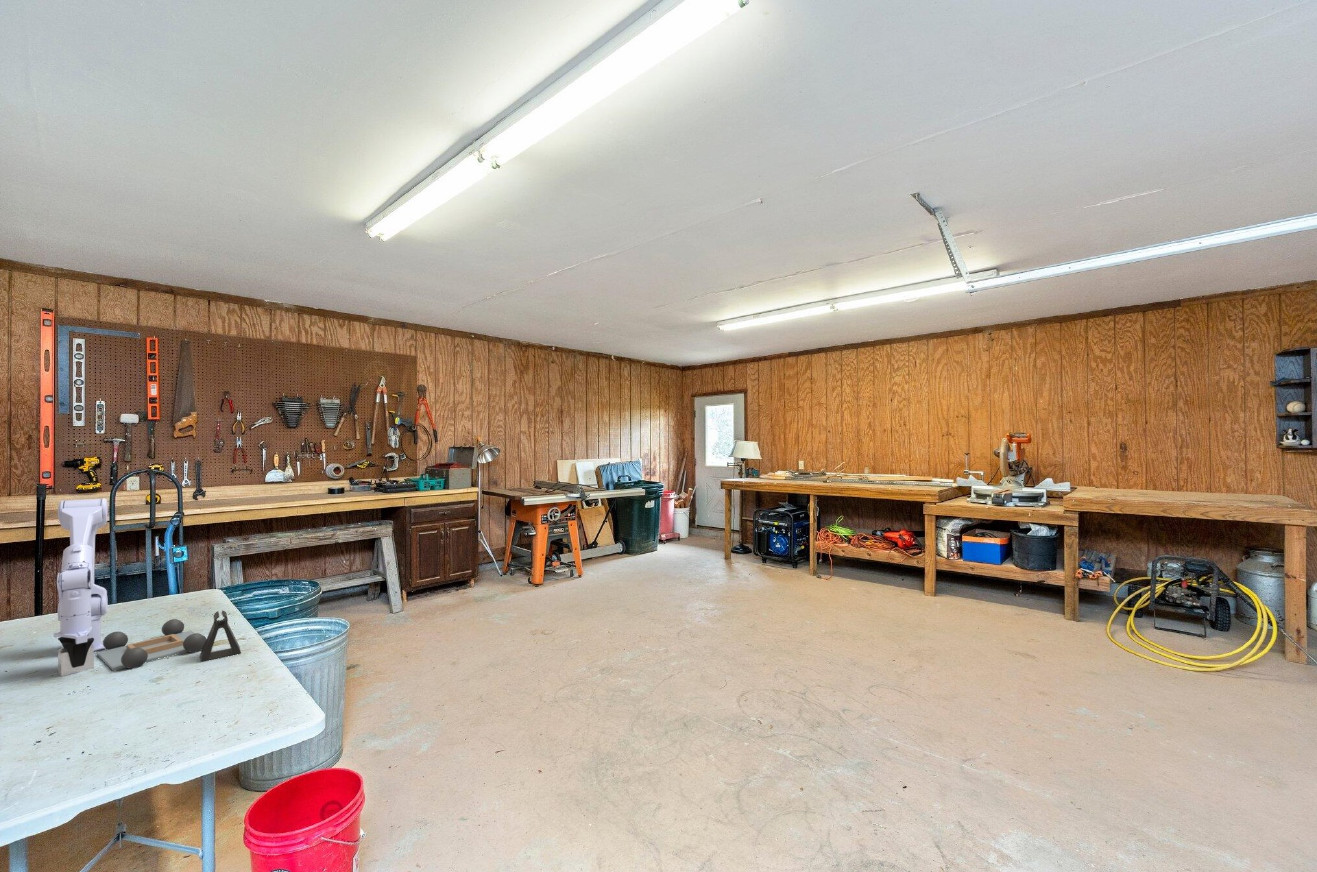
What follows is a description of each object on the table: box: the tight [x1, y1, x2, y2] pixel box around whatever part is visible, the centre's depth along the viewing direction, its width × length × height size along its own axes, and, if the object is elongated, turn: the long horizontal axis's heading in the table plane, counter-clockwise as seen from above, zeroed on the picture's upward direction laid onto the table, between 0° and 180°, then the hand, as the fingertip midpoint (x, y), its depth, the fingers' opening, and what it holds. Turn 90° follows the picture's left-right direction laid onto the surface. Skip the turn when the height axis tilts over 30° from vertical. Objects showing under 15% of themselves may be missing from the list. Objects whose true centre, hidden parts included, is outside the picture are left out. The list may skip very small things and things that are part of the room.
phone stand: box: [199, 609, 242, 663], centre depth 157 cm, size 9×6×12 cm, turn 130°
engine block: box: [57, 644, 95, 677], centre depth 147 cm, size 4×6×6 cm
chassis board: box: [96, 618, 207, 672], centre depth 160 cm, size 22×21×5 cm
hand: (76, 663), depth 147 cm, fingers closed on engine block, 4 cm apart
